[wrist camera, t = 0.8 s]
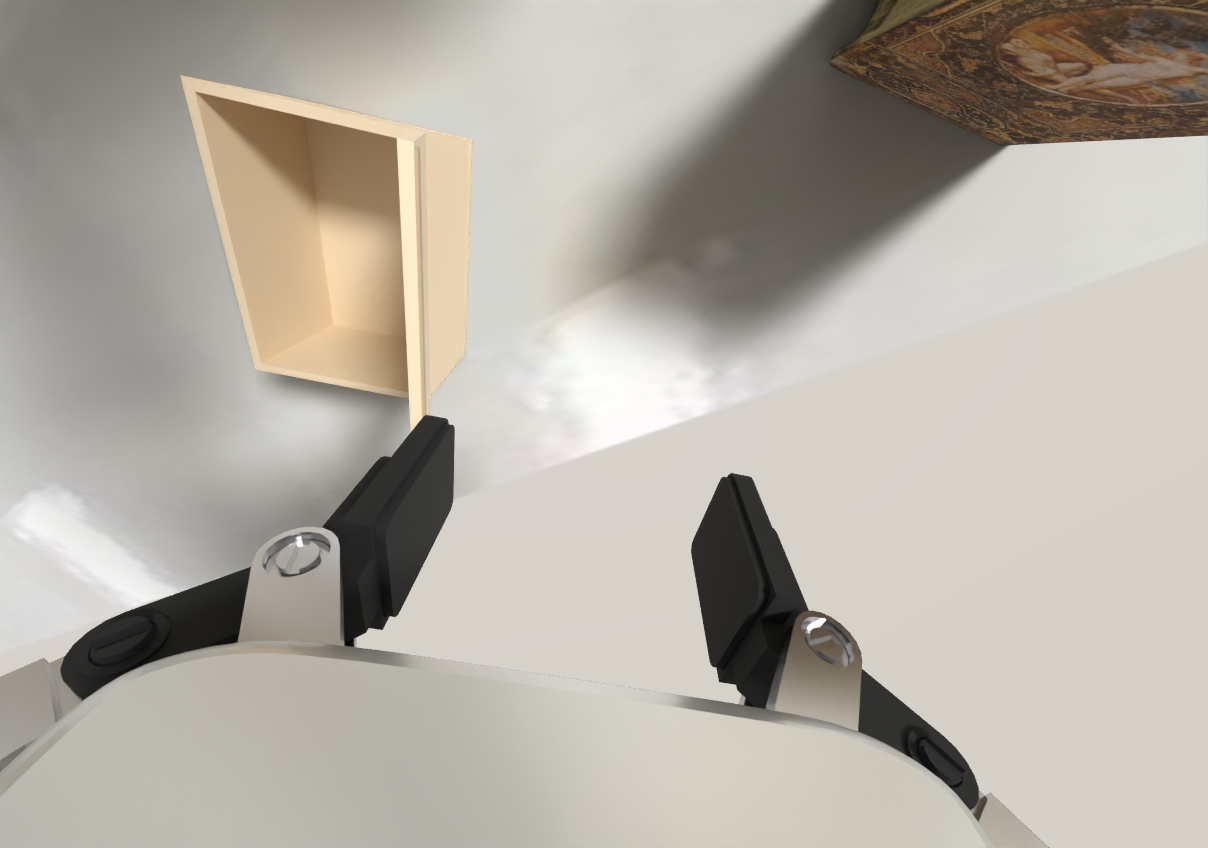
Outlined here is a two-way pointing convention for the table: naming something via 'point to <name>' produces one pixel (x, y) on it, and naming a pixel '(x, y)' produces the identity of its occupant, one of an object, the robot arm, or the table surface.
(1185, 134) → the book
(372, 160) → the carton
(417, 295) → the lid
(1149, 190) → the table surface
